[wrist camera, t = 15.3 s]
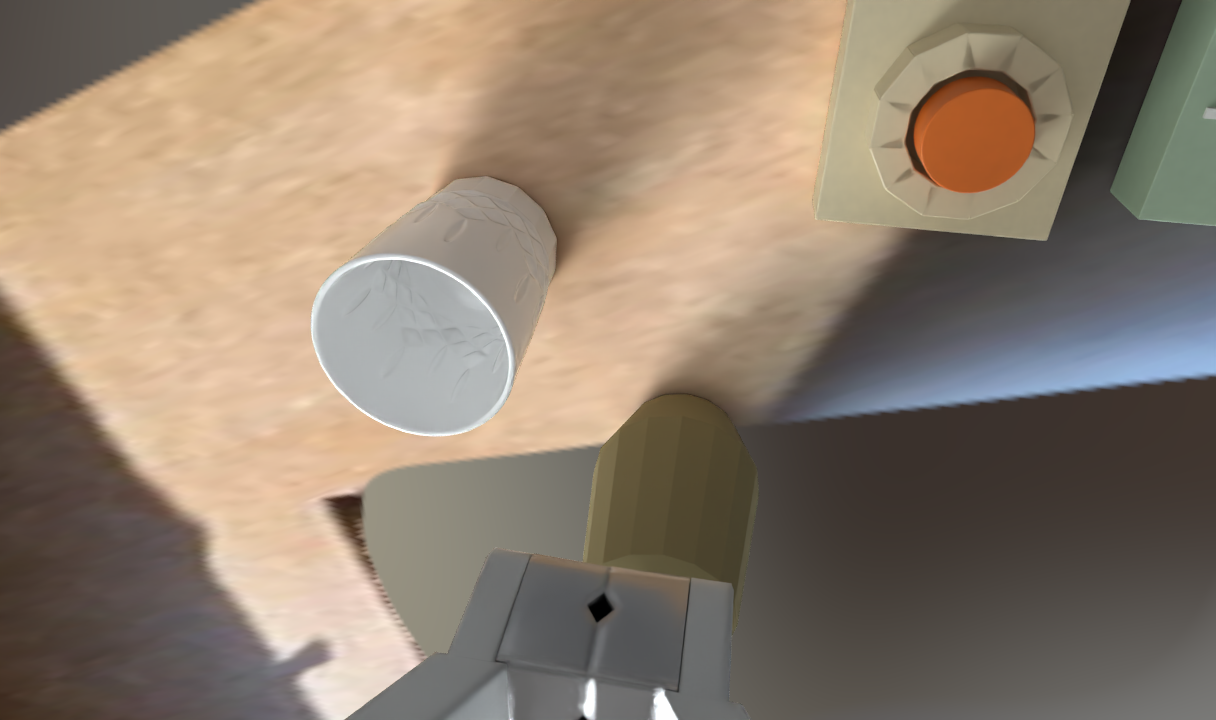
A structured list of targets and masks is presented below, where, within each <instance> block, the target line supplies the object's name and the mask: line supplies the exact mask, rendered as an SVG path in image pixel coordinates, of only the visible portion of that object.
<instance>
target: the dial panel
mask: <svg viewBox="0 0 1216 720" xmlns="http://www.w3.org/2000/svg"><path fill="white" fill-rule="evenodd" d="M1110 192H1111V193H1112V194H1113V195H1114V196H1115V197H1116V198H1117V199H1118V200H1119V201H1120V202H1121V203H1122V204H1123V205H1124V206H1125V207H1126V208H1127V209H1128V210H1129V211H1130V212H1131V213H1132V214H1133V215H1135V216H1136V217H1137V218H1138V219H1143V220H1154V221H1165V222H1177V223H1188V224H1200V225H1211V226H1216V0H1182V2H1181V5H1180V8H1179V10H1178V13H1177V16H1176V18H1175V21H1174V23H1173V26H1172V29H1171V31H1170V34H1169V37H1168V39H1167V42H1166V44H1165V47H1164V50H1163V52H1162V55H1161V58H1160V60H1159V63H1158V65H1157V68H1156V71H1155V73H1154V76H1153V79H1152V81H1151V84H1150V87H1149V89H1148V92H1147V94H1146V97H1145V100H1144V102H1143V105H1142V108H1141V110H1140V113H1139V115H1138V118H1137V121H1136V123H1135V126H1134V129H1133V131H1132V134H1131V136H1130V139H1129V142H1128V144H1127V147H1126V150H1125V152H1124V155H1123V158H1122V160H1121V163H1120V165H1119V168H1118V171H1117V173H1116V176H1115V179H1114V181H1113V184H1112V186H1111V189H1110Z"/></svg>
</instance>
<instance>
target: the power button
mask: <svg viewBox="0 0 1216 720" xmlns="http://www.w3.org/2000/svg"><path fill="white" fill-rule="evenodd" d="M913 139H914V146H915V149H916V152H917V154H918V157H919V158H920V160H921V162H922V164H923V166H924V168H925V170H926V172H927V173H928V175H929V176H930V177H931V178H932V180H933V181H935V182H936V183H937V184H938V185H940V186H941V187H943V188H945V189H948V190H950V191H954V192H958V193H978V192H983V191H987V190H990V189H992V188H995V187H997V186H999V185H1001V184H1002V183H1004V182H1006V181H1007V180H1009V179H1010V178H1011V177H1012V176H1014V175H1015V174H1016V173H1017V172H1018V171H1019V170H1020V168H1021V167H1022V166H1023V165H1024V163H1025V162H1026V160H1027V159H1028V157H1029V155H1030V153H1031V150H1032V148H1033V144H1034V140H1035V123H1034V118H1033V116H1032V113H1031V111H1030V109H1029V108H1028V106H1027V105H1026V104H1025V102H1024V101H1023V100H1022V99H1021V98H1019V97H1018V96H1017V95H1016V94H1015V93H1014V92H1013V91H1012V90H1011V89H1010V88H1009V87H1008V86H1006V85H1005V84H1003V83H1002V82H1000V81H998V80H995V79H992V78H989V77H981V76H973V77H966V78H962V79H958V80H956V81H953V82H951V83H949V84H947V85H945V86H943V87H942V88H940V89H939V90H938V91H936V92H935V93H934V94H933V95H932V96H931V97H930V98H929V99H928V100H927V101H926V103H925V104H924V105H923V107H922V109H921V110H920V112H919V114H918V116H917V119H916V122H915V126H914V134H913Z"/></svg>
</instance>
